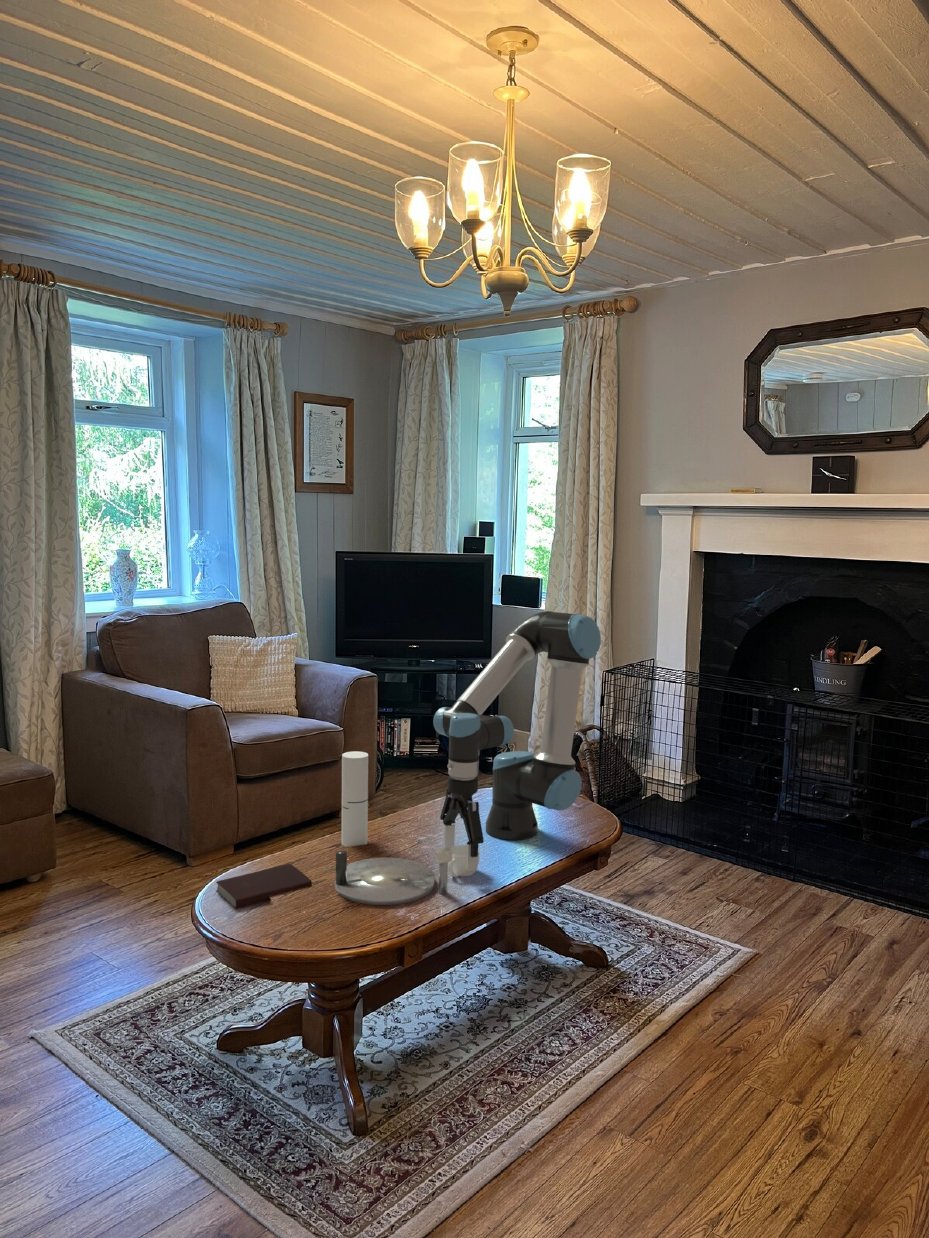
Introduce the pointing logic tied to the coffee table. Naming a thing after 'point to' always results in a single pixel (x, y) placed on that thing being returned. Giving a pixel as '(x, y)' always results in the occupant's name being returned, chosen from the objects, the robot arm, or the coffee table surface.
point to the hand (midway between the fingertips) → (460, 859)
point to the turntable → (382, 880)
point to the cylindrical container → (354, 798)
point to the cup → (460, 862)
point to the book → (261, 885)
